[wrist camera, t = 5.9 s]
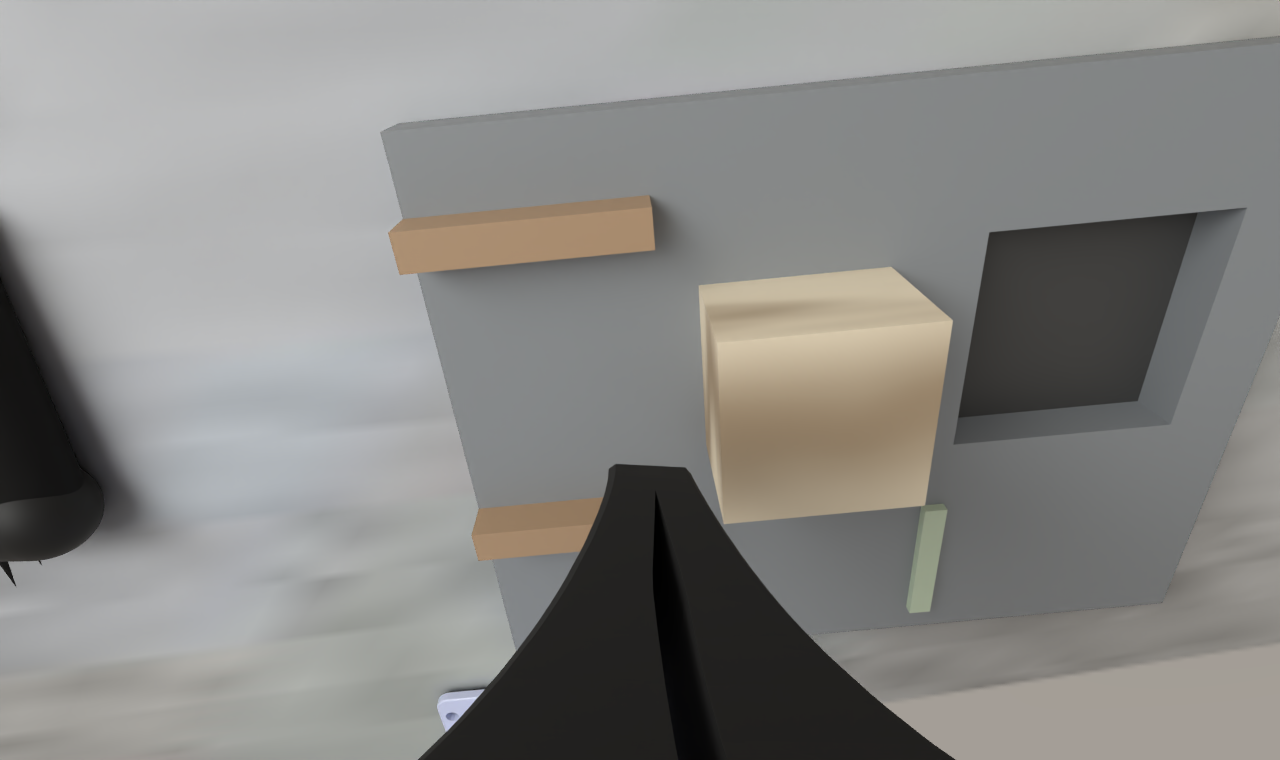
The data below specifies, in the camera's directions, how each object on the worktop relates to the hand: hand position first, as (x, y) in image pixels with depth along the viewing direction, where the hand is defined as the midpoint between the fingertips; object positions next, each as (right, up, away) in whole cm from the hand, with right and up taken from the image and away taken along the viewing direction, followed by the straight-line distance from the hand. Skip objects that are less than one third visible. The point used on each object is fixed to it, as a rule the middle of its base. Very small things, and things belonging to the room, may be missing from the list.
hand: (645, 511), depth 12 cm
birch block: (+4, +3, +7) cm, 8 cm away
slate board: (+6, +2, +9) cm, 11 cm away
